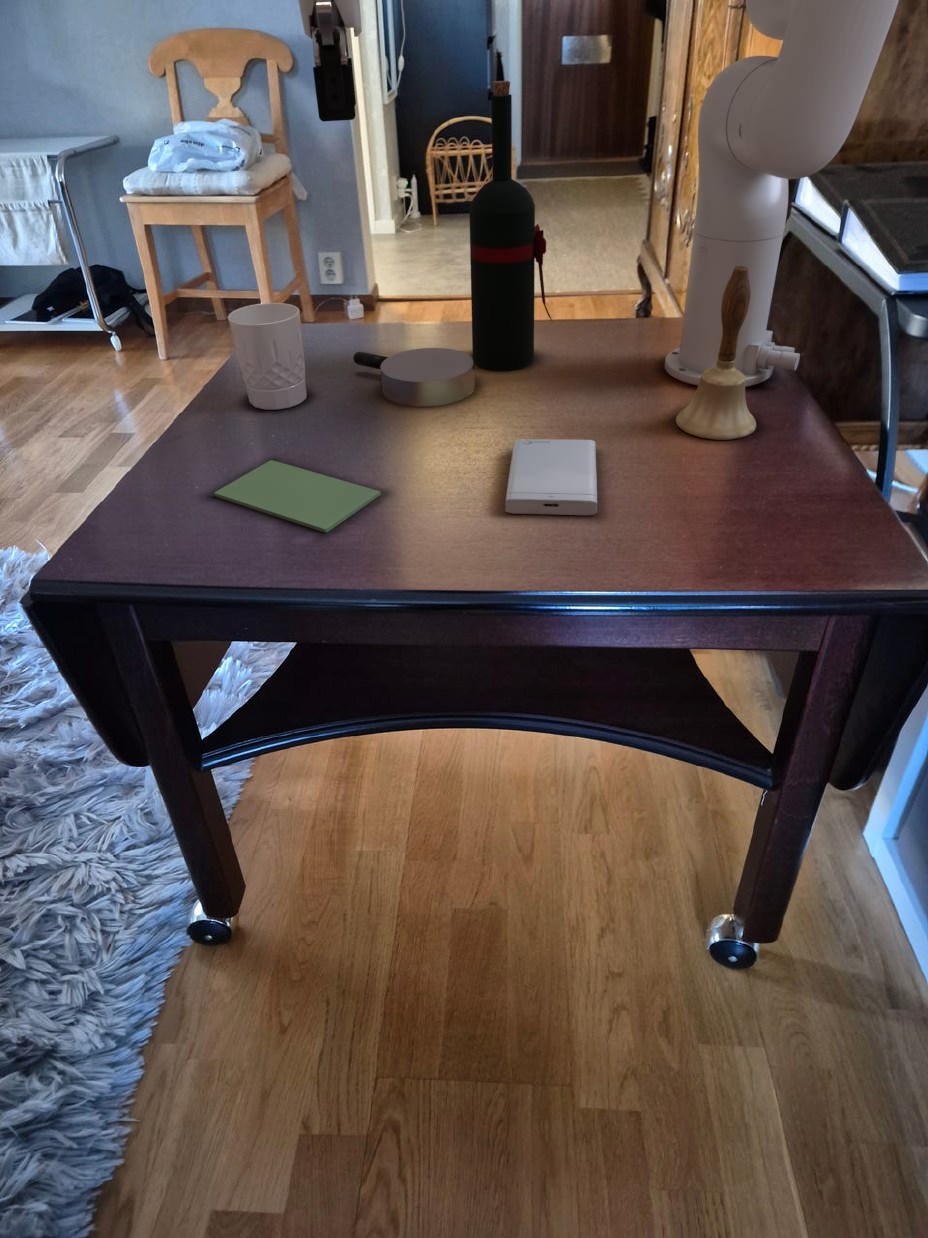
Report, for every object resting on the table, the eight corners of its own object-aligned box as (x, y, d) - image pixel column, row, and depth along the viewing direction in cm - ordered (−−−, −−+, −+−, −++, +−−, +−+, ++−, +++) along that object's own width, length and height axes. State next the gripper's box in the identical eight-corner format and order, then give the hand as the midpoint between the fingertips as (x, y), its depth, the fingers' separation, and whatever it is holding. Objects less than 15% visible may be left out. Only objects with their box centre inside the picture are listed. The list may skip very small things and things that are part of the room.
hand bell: (770, 421, 90) (800, 263, 80) (731, 447, 85) (758, 283, 76) (701, 402, 95) (722, 251, 85) (660, 426, 90) (678, 269, 80)
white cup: (319, 386, 103) (307, 302, 97) (302, 412, 96) (288, 324, 90) (256, 386, 103) (240, 302, 97) (236, 412, 97) (217, 324, 91)
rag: (381, 495, 80) (380, 491, 80) (326, 533, 75) (325, 529, 74) (271, 463, 86) (271, 459, 86) (214, 496, 81) (213, 492, 81)
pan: (492, 380, 102) (491, 356, 100) (441, 413, 95) (440, 387, 93) (383, 358, 109) (380, 335, 108) (328, 387, 102) (324, 363, 100)
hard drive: (513, 438, 85) (505, 497, 75) (595, 439, 84) (597, 499, 74) (513, 453, 86) (505, 513, 76) (594, 454, 85) (596, 515, 75)
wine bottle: (557, 367, 105) (567, 81, 87) (476, 373, 104) (468, 86, 86) (545, 345, 111) (551, 75, 93) (469, 351, 110) (460, 80, 92)
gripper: (358, -148, 61) (381, 123, 72) (358, -123, 75) (377, 101, 85) (254, -144, 61) (292, 128, 71) (273, -120, 75) (303, 105, 85)
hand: (338, 113), depth 78 cm, fingers open, 9 cm apart
